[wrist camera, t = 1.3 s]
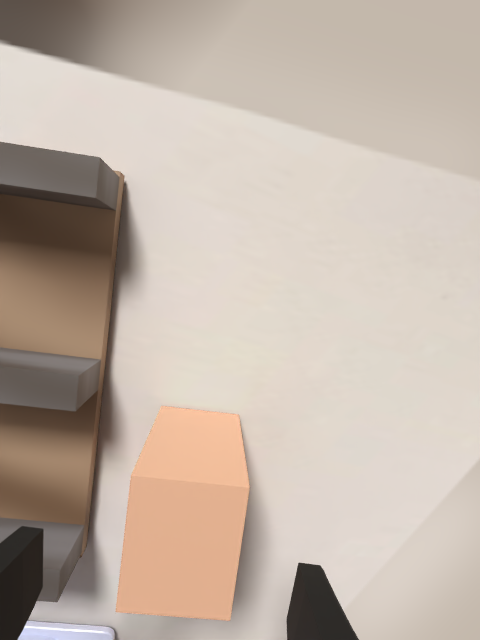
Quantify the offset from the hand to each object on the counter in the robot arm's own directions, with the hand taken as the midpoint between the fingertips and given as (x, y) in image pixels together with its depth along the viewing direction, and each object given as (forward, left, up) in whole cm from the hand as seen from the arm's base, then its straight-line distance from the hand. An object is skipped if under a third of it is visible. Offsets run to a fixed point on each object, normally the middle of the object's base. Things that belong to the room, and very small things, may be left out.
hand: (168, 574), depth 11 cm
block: (-1, 0, -9) cm, 9 cm away
